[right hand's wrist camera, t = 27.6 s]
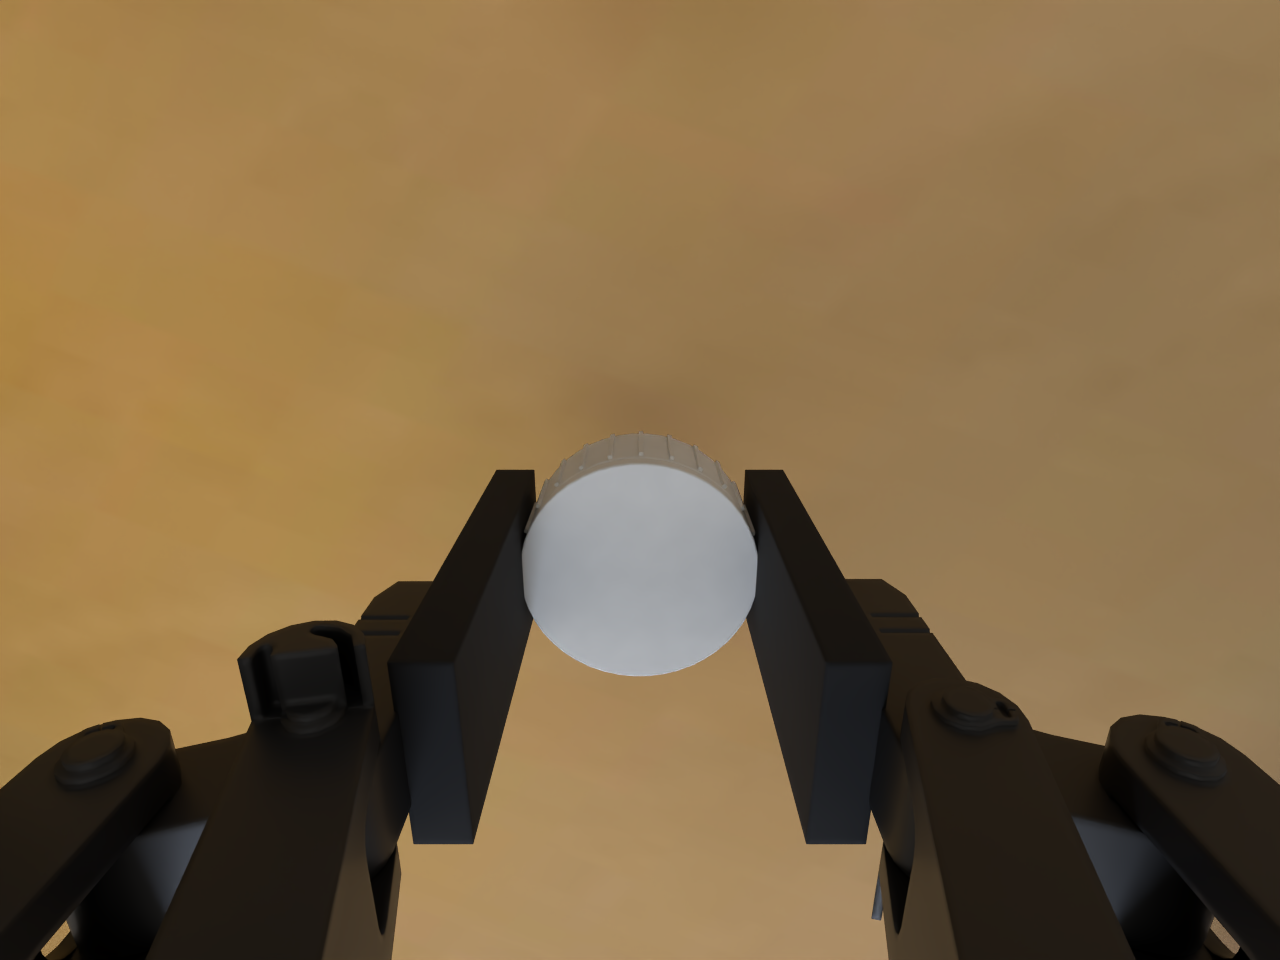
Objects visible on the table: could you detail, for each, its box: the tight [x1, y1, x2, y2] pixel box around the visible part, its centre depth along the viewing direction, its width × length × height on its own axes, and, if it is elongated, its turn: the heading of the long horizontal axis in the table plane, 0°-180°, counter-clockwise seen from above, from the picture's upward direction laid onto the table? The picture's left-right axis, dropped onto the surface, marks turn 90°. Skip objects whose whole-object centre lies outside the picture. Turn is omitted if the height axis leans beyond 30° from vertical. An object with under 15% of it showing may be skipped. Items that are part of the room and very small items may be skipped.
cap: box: [522, 431, 758, 676], centre depth 14 cm, size 4×4×2 cm
